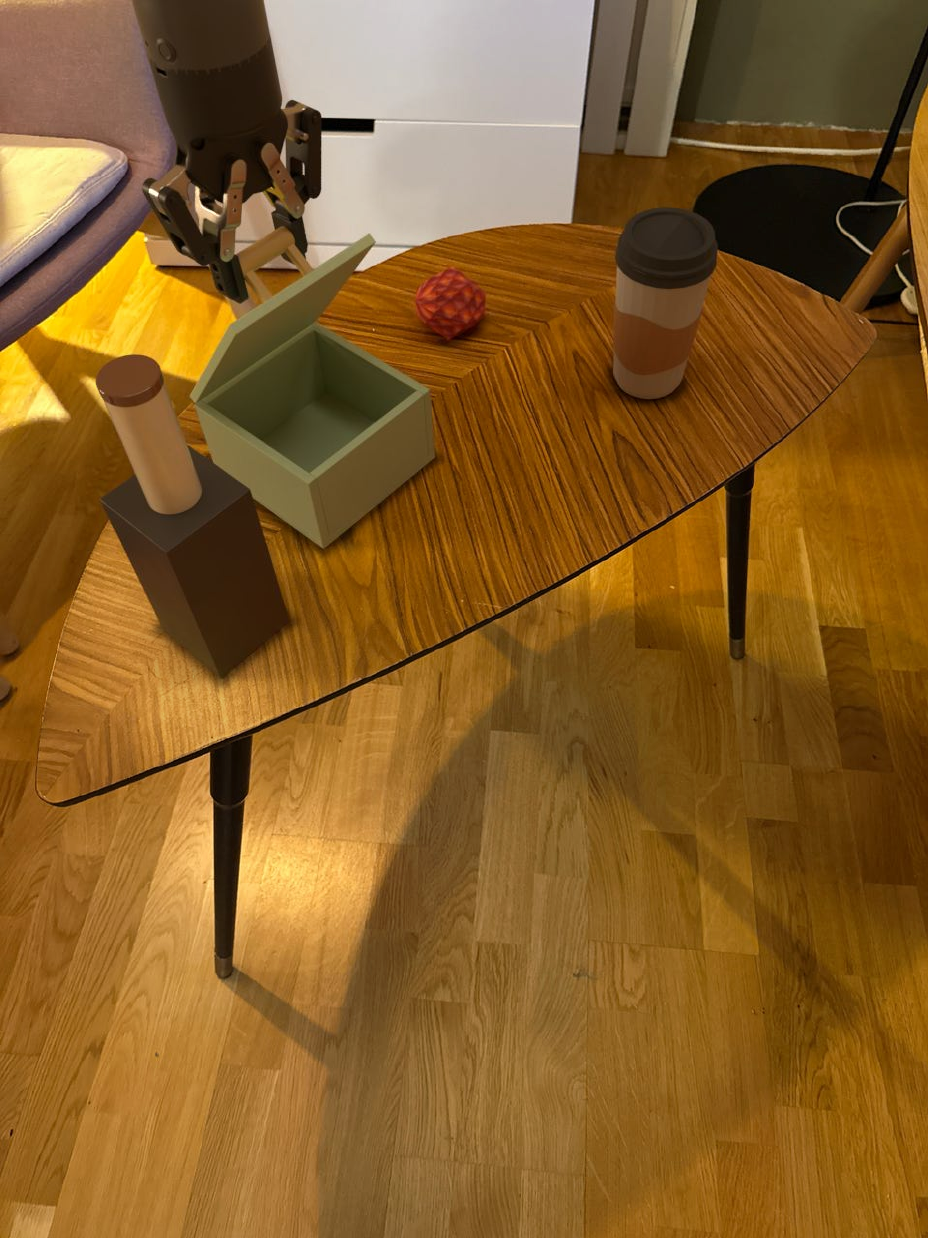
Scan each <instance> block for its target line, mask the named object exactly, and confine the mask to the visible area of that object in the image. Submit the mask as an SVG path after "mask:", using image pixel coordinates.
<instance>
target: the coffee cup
mask: <svg viewBox="0 0 928 1238" xmlns="http://www.w3.org/2000/svg"><path fill="white" fill-rule="evenodd" d="M718 246H719V244H718V242H717V240H716V232H715V229H714V227H713V225H712V224H711V222H709V221H708V219H707V218H705V217H704V216H702V215H700V214H699V213H696V212H694V211H692V210H689V209H684V208H680V207H671V206H669V207H668V206H664V207H663V206H662V207H661V206H660V207H653V208H649V209H645V210H643V211H641V212H638V213H636V214H634V215H633V216H632V217H631V218H630V219H628V221H627V223H626V224H625V226H624V229H623V230H622V231H621V233H620V235H619V236H618V240H617V247H616V248H615V253H614V260H615V263H616V277H615V278H616V279H615V282H616V283H615V297H614V305H613V306H614V307H613V333H612V347H613V365H612V366H613V367H612V374H613V377H614V380H615V382H616V383H617V385H618V387H619V388H620V389H621V390H622V391H623V392H624V393H625V394H628V395H630V396H632V397H634V398H638V399H642V400H654V399H657V400H658V399H660V398H663V397H667V396H668V395H670V394H672V393H673V392H674V391H675V390H676V389H677V388H678V387H679V385H681V382H682V381H683V378H684V374H685V371H686V367H687V363H688V360H689V357H690V354H691V352H692V349H693V346H694V341H695V338H696V334H697V331H698V327H699V324H700V320H701V317H702V315H703V314H702V313H703V306H704V303H705V300H706V296H707V292H708V288H709V285H710V282H711V278H712V274H713V273H714V272H715V270H716V268H717V266H718V265H717V264H718V251H719V250H718V248H719V247H718Z"/></svg>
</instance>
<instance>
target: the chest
mask: <svg viewBox="0 0 928 1238" xmlns="http://www.w3.org/2000/svg"><path fill="white" fill-rule="evenodd" d="M193 406H194V408H195V412H196V415H197V418H198V421H199V425H200V427H201V430H202V432H203V436H204V439H205V442H206V445H207V448H208V450H209V454H210V456H211V457H210V458H211V459H212V460H211V461H212V462H213V463H214V464H216V465H217V466H218V467H220V468H221V469H223V470H224V471H225V472H227V473H228V474H229V475H231V476H232V477H234V478H235V479H236V480H238V481H239V482H241V483H242V484H243V485H245V486H246V487H248V488H249V489H250V490H251V494H252V497H253V500H255V501H256V502H258V503H259V504H261V505H262V506H263V507H264V508H266V509H267V510H269V511H270V512H272V513H273V514H275V515H276V516H277V517H279V518H280V519H281V520H283V521H284V522H285V523H286V524H288V525H290V526H291V527H292V528H293V529H295V530H296V531H298V532H299V533H300V534H301V535H303V536H305V537H306V538H307V539H309V540H310V541H312V542H313V543H314V544H316V545H317V546H318V547H320V548H321V549H323V550H325V549H326V548H327V547H328V546H330V545H331V544H332V543H333V542H334V541H336V540H337V539H338V538H339V537H341V536H342V535H343V534H344V533H345V532H346V531H347V530H349V529H350V528H351V527H353V526H354V525H355V524H356V523H358V522H359V521H360V520H361V519H362V518H363V517H365V516H366V515H367V514H368V513H369V512H371V511H372V510H373V509H375V507H377V506H378V505H379V504H381V503H382V502H383V501H384V500H385V499H386V498H388V497H389V496H390V495H392V494H393V493H394V492H395V491H396V490H398V489H399V488H400V487H401V486H402V485H403V484H405V483H406V482H407V481H409V480H410V479H411V478H412V477H413V476H414V475H416V474H417V473H418V472H420V471H421V470H422V469H423V468H424V467H426V466H427V465H428V464H429V463H430V462H432V461H433V460H434V459H435V458H436V451H435V448H436V447H435V435H434V423H433V421H434V420H433V408H432V397H431V388H428V387H427V386H425V385H423V384H422V383H420V382H418V381H417V380H416V379H414V378H412V377H410V376H408V375H407V374H405V373H403V372H401V371H400V370H398V369H396V368H395V367H393V366H391V365H390V364H388V363H386V362H384V361H383V360H381V359H380V358H378V357H376V356H374V355H373V354H371V353H369V352H368V351H366V350H365V349H363V348H361V347H359V346H358V345H356V344H354V343H352V342H351V341H349V340H347V339H346V338H344V337H342V336H341V335H339V334H337V333H336V332H334V331H332V330H331V329H329V328H328V327H325V326H324V325H322V324H320V323H319V322H318V321H316V322H315V323H313V324H312V325H310V326H309V327H307V328H306V329H304V330H303V331H301V332H300V333H299V334H297V335H296V336H294V337H293V338H291V339H290V340H288V341H287V342H285V343H284V344H282V345H281V346H280V347H278V348H277V349H275V350H274V351H272V352H271V353H269V354H268V355H266V356H265V357H264V358H262V359H261V360H259V361H258V362H256V363H255V364H253V365H252V366H250V367H249V368H247V369H246V370H245V371H243V372H242V373H240V374H239V375H237V376H236V377H234V378H233V379H231V380H230V381H229V382H227V383H226V384H224V385H223V386H221V387H220V388H218V389H217V390H215V391H214V392H212V393H211V394H210V395H208V396H207V397H205V398H204V399H202V400H201V401H199V402H198V403H194V404H193Z"/></svg>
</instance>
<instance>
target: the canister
mask: <svg viewBox="0 0 928 1238" xmlns="http://www.w3.org/2000/svg"><path fill="white" fill-rule="evenodd" d="M95 386H96V390H97V391H98V393H99V396H100V398H101V399H102V401H103V403H104V406H105V408H106V410H107V412H108V414H109V416H110V417H109V418H110V419H111V421H112V424H113V427H114V429H115V431H116V434H117V436H118V437H119V440H120V442H121V444H122V447H123V449H124V452H125V454H126V456H127V458H128V461H129V463H130V465H131V468H132V470H133V472H134V475H136V477H137V479H138V482H139V484H140V486H141V489H142V491H143V493H144V496H145V498H146V500H147V503H148V505H149V506H150V507H151V508H152V509H153V510H154V511H156V512H158V513H161V514H178V513H181V512H184V511H186V510H188V509H190V508H191V507H193V506H194V505H195V504H196V503H197V502H198V501H199V499H200V497H201V494H202V486H201V483H200V480H199V477H198V474H197V472H196V469H195V466H194V463H193V460H192V458H191V455H190V452H189V449H188V447H187V444H188V443H187V441H186V439H185V436H184V432H183V430H182V427H181V425H180V421H179V419H178V416H177V413H176V410H175V408H174V404H173V401H172V399H171V396H170V394H169V390H168V388H167V385H166V383H165V377H164V374H163V371H162V369H161V366H160V364H159V363H158V361H156V360H155V359H154V358H153V357H150V356H148V355H145V354H139V353H133V354H132V353H131V354H124V355H120V356H117V357H115V358H112V359H111V360H109V361H108V362H106V363H105V364H104V365H102V366H101V367H100V368H99V370H98V371H97V374H96V375H95Z"/></svg>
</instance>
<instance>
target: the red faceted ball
mask: <svg viewBox="0 0 928 1238" xmlns="http://www.w3.org/2000/svg"><path fill="white" fill-rule="evenodd" d="M486 297H487V294H486V293H485V292H484V291H483V289H482V287H480V286H479V285H478V284H477V282H476V281H474V280H472V279H471V278H470V277H468V275H465V274H464V273H463V272H461V271H460V270H459V269H458V268H457V267H456V266H453V265H451V266H450V267H448V268H446V269H444V270H442V271H440V272H439V273H436V274H435V275H432V276H431V277H429V278H428V279H426V280H425V281H424V282H423V283H422V284H421V285H420V286H419V287H418V288H417V289H416V292H415V299H414V304H415V305H414V306H415V313H416V314H417V316H418V317H419V319H420V320H421V321H422V322H423V323H424V325H426V326H427V327H428V328H430V329H432V330H433V331H435V332H436V333H438V334H439V335H441V336H442V337H443V338H445V339H447V340H448V341H450V340H452V339H453V338H456V337H457V336H460V335H461V334H462V333H464V332H466V331H467V330H469V329H471V328H473V327H474V326H476V324H478V323H479V322H480V321H481V320H482V319H483V318H484V317H485V313H486V300H487V299H486Z"/></svg>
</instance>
